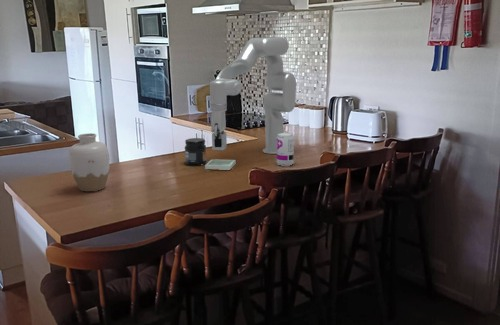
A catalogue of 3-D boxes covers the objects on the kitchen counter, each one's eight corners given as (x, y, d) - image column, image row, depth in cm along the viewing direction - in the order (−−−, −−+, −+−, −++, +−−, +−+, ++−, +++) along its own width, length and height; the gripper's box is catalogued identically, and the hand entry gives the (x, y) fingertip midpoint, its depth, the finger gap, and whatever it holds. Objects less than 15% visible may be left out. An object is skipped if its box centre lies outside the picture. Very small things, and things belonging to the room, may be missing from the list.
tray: (211, 163, 239) (211, 159, 238) (235, 164, 237) (235, 159, 236) (205, 170, 228) (204, 165, 227) (230, 171, 225) (229, 166, 225)
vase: (98, 181, 213) (93, 130, 208) (119, 187, 203) (115, 133, 198) (64, 190, 201) (58, 136, 196) (86, 197, 192) (80, 140, 186)
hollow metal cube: (215, 147, 233) (214, 131, 231) (226, 147, 232) (226, 132, 230) (212, 149, 228) (211, 134, 226) (224, 150, 227) (223, 134, 225)
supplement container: (209, 161, 244) (208, 138, 241) (202, 166, 234) (201, 142, 231) (190, 160, 247) (189, 137, 244) (182, 165, 237) (180, 141, 234)
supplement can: (280, 167, 230) (280, 136, 227) (274, 163, 238) (274, 133, 234) (296, 165, 232) (296, 135, 229) (290, 161, 240) (290, 132, 236)
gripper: (215, 105, 234) (216, 141, 238) (205, 109, 218) (207, 149, 222) (230, 105, 233) (231, 142, 237) (222, 110, 216) (223, 149, 221)
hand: (219, 145), depth 229 cm, fingers closed on hollow metal cube, 5 cm apart
